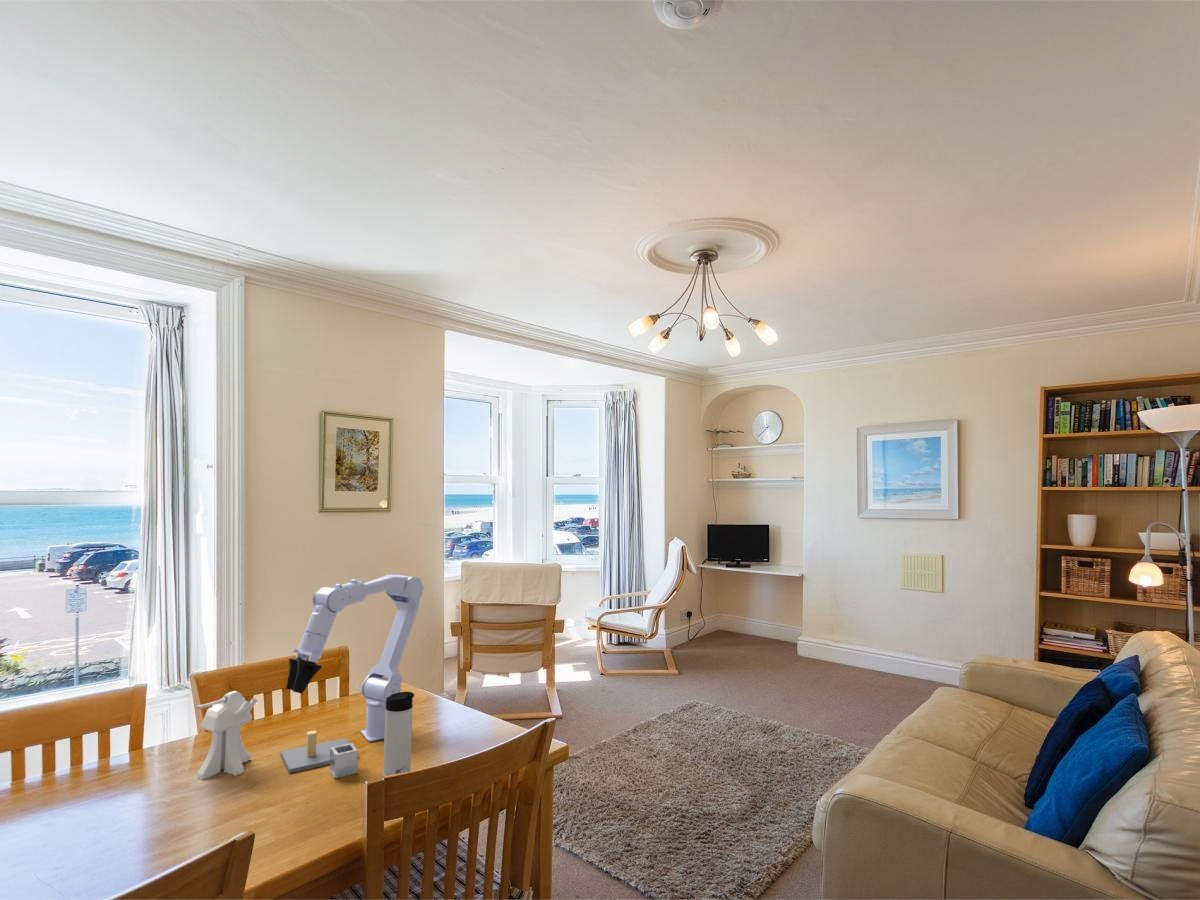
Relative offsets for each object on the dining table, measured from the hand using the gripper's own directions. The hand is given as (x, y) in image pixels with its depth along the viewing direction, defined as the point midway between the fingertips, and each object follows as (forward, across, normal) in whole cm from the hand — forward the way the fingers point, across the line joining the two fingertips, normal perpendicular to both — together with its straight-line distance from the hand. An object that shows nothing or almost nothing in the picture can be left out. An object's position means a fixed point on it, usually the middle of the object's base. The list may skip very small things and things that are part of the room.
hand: (293, 691), depth 156 cm
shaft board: (+14, -9, +14) cm, 22 cm away
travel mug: (+13, +12, +27) cm, 33 cm away
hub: (+15, +2, +18) cm, 23 cm away
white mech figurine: (+21, -15, -6) cm, 26 cm away
